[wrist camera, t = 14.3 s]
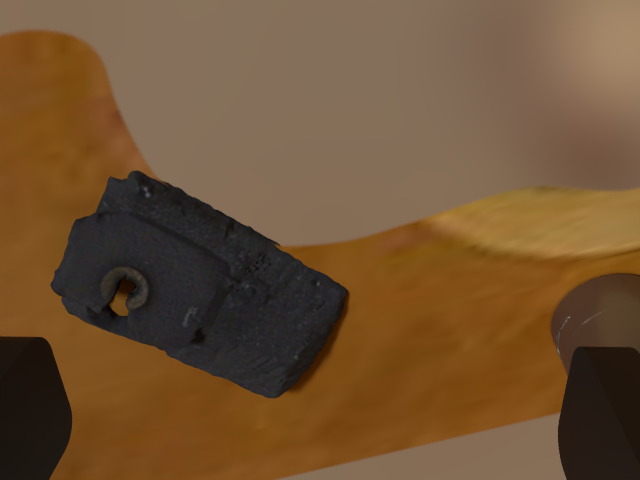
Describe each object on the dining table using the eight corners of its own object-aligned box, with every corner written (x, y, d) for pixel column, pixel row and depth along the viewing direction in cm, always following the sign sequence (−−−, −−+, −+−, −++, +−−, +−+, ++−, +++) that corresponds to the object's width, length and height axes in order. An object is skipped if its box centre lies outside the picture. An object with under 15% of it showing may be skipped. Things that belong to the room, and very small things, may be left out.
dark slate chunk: (274, 401, 57) (266, 441, 53) (50, 293, 53) (23, 327, 49) (363, 286, 50) (362, 322, 46) (113, 151, 46) (87, 176, 42)
